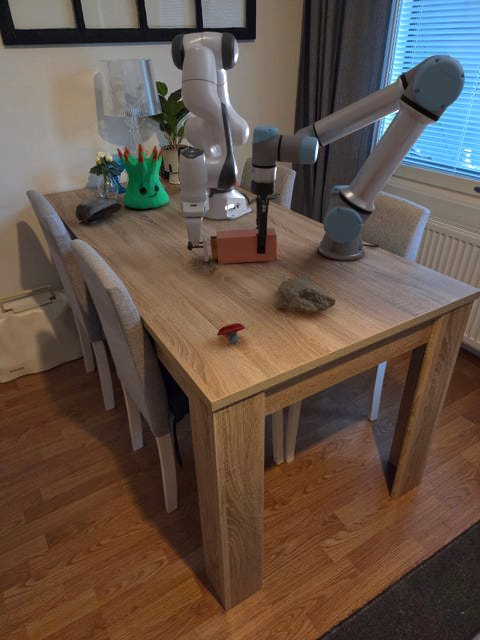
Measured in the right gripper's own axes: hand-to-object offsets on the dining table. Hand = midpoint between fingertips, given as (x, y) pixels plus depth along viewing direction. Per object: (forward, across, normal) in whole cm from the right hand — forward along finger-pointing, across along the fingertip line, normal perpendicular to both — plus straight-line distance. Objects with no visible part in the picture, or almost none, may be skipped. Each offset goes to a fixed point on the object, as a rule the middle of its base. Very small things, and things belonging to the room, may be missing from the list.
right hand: (260, 248), depth 150 cm
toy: (+5, -62, -48) cm, 79 cm away
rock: (+5, -42, -64) cm, 76 cm away
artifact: (+3, +31, +9) cm, 33 cm away
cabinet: (+3, 0, -4) cm, 6 cm away
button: (+3, +50, -10) cm, 51 cm away
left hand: (-2, +1, -22) cm, 22 cm away
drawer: (+3, 0, -12) cm, 13 cm away
